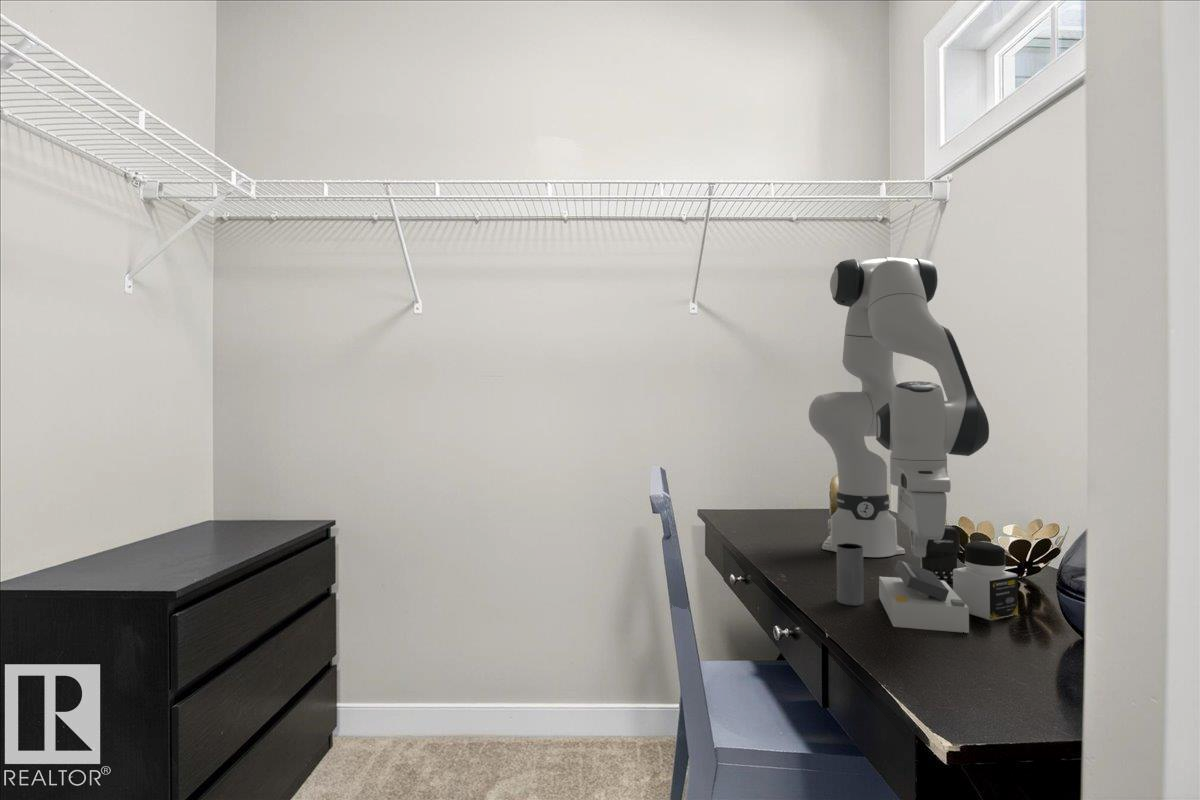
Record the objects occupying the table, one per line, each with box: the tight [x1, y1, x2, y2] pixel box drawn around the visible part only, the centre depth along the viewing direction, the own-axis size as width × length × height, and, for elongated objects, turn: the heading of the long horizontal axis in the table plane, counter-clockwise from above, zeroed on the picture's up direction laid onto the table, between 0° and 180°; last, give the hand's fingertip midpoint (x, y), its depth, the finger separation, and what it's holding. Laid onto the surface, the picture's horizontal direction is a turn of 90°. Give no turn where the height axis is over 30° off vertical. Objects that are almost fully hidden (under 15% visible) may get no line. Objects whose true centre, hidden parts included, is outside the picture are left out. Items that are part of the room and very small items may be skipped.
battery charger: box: [919, 523, 961, 583], centre depth 132 cm, size 7×4×11 cm, turn 81°
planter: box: [836, 543, 864, 607], centre depth 118 cm, size 4×4×10 cm
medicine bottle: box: [952, 540, 1019, 621], centre depth 113 cm, size 7×7×12 cm
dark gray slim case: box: [894, 559, 949, 601], centre depth 112 cm, size 12×6×2 cm, turn 164°
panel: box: [878, 575, 970, 634], centre depth 112 cm, size 16×11×5 cm
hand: (918, 555), depth 112 cm, fingers closed
